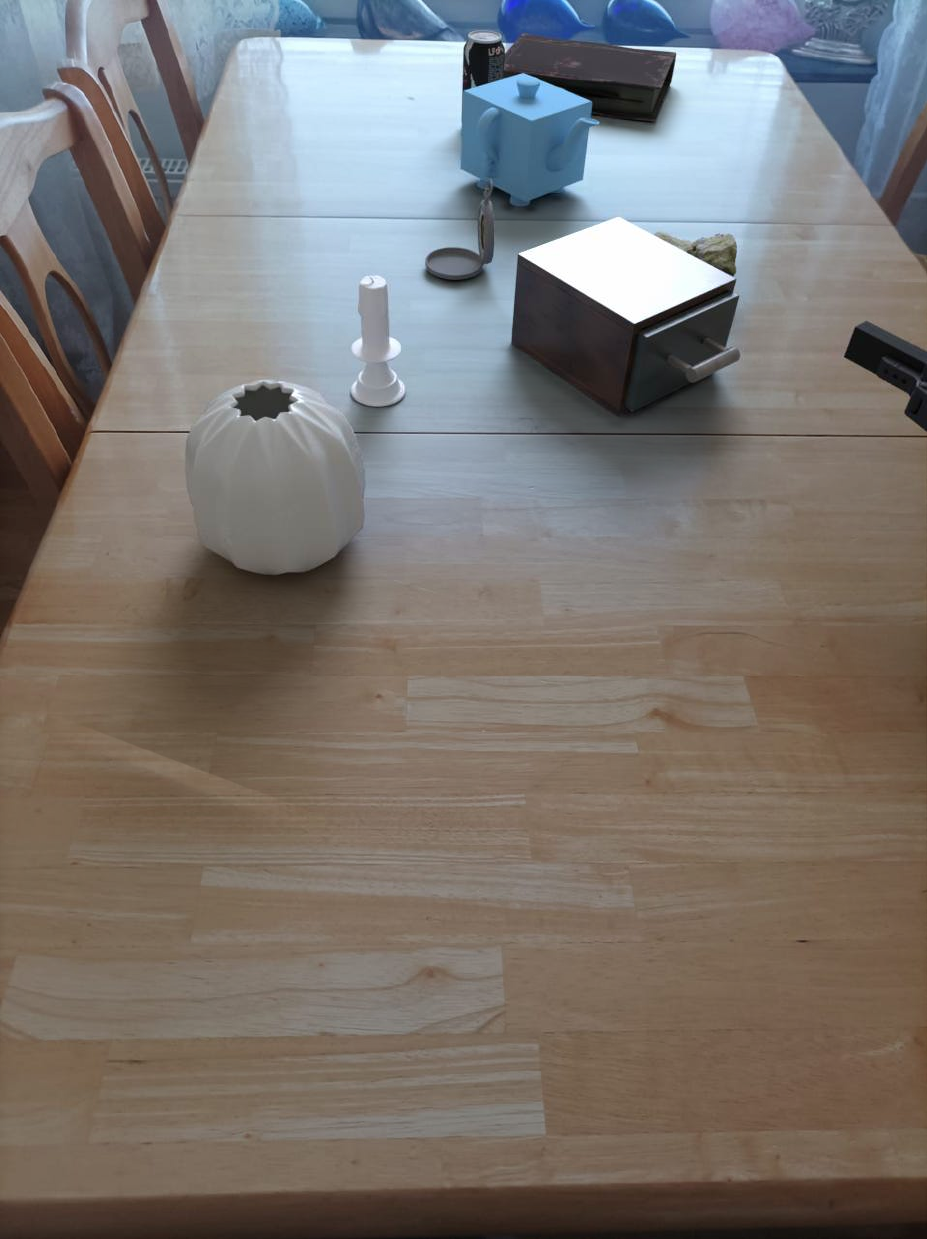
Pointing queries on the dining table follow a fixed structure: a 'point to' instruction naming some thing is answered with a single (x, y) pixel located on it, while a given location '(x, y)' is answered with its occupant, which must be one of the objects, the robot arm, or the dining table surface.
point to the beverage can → (482, 59)
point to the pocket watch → (465, 261)
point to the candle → (376, 347)
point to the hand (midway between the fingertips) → (855, 339)
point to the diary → (597, 73)
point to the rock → (709, 250)
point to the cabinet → (603, 302)
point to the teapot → (524, 136)
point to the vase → (274, 478)
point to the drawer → (682, 350)
